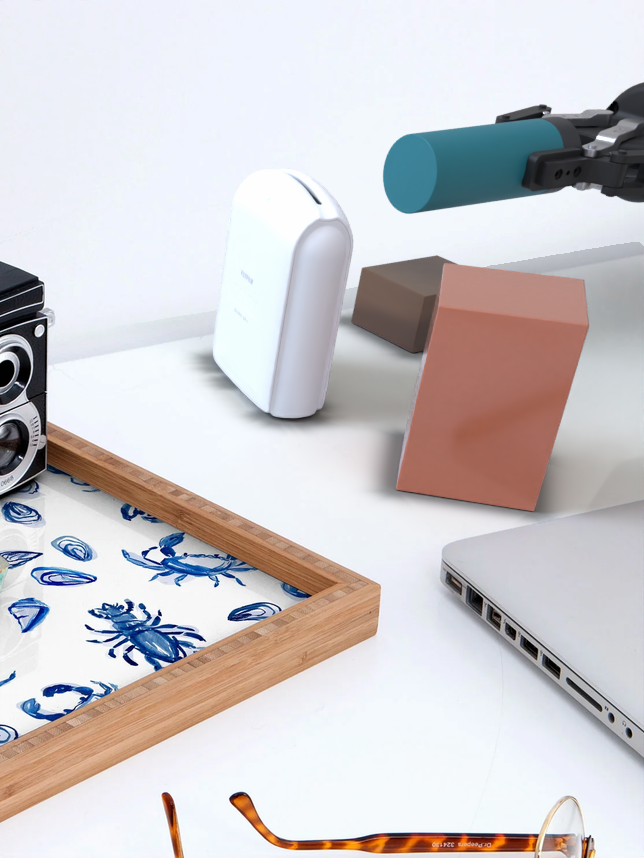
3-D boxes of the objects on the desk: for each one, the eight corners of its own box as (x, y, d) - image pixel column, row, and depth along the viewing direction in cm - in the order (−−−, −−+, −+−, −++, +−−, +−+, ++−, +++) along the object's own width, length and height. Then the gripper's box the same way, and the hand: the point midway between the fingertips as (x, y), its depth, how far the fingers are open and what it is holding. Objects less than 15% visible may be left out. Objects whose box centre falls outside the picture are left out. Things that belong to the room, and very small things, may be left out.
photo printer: (201, 356, 92) (229, 152, 85) (265, 352, 93) (298, 150, 86) (261, 424, 84) (298, 204, 77) (331, 419, 85) (374, 202, 77)
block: (412, 353, 93) (425, 296, 91) (350, 322, 98) (361, 267, 95) (488, 338, 96) (502, 282, 94) (424, 308, 100) (437, 254, 98)
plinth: (533, 457, 81) (584, 279, 75) (534, 512, 76) (589, 325, 70) (403, 437, 83) (444, 262, 77) (395, 490, 77) (438, 305, 72)
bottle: (427, 222, 89) (444, 143, 86) (376, 203, 92) (390, 126, 89) (570, 201, 93) (590, 125, 91) (516, 183, 97) (534, 109, 94)
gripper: (619, 56, 101) (431, 74, 95) (801, 101, 91) (604, 125, 84) (588, 168, 106) (407, 193, 99) (759, 223, 95) (568, 255, 89)
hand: (499, 161), depth 92 cm, fingers closed on bottle, 4 cm apart
